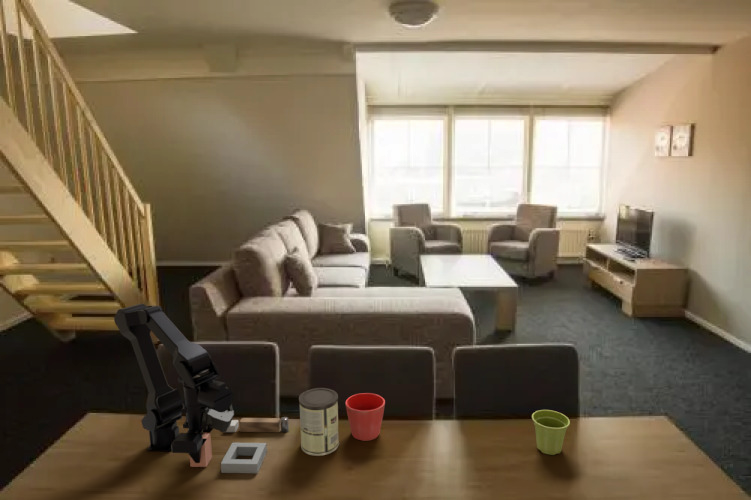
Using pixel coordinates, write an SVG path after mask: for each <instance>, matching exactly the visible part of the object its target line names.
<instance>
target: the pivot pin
mask: <svg viewBox="0 0 751 500" xmlns="http://www.w3.org/2000/svg"><path fill="white" fill-rule="evenodd" d="M289 423H290V422H289V417H288V416H282V417H281V418H280V432H281V433H287V432H289V429H290V428H289V427H290V426H289Z"/></svg>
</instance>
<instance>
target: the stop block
mask: <svg viewBox="0 0 751 500" xmlns="http://www.w3.org/2000/svg"><path fill="white" fill-rule="evenodd" d="M239 428H240V421H239V420H238V419H232V421H231V424H230V426H229V427H228V429H227V431H226V432H225V433H236V432H237V430H238V429H239Z"/></svg>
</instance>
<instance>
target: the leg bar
mask: <svg viewBox="0 0 751 500" xmlns="http://www.w3.org/2000/svg"><path fill="white" fill-rule="evenodd" d="M280 419H281V418H280V417H275V418H272V417H271V418H270V417H268V418H267V417H242V418H241V419H240V420H239V433H241V432H242V433H243V432H244V433H247V432H248V433H279V432H280V431H281V420H280Z"/></svg>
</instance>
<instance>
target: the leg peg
mask: <svg viewBox="0 0 751 500" xmlns="http://www.w3.org/2000/svg"><path fill="white" fill-rule="evenodd" d="M202 433H203V435H202V438H203V439H207V440H206V441H205V443H204V444H203V446H202V447H201V459H200V463H195V462H194V460H193V459H192V458H191V456H190V455H189V463H190V467H192V468H194V467H195V468H199V467H200V468H207V467H208V465H209V463H210V462H211V460H212V459H213V451H212V439H211V434H210V433H207V432H202Z"/></svg>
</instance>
